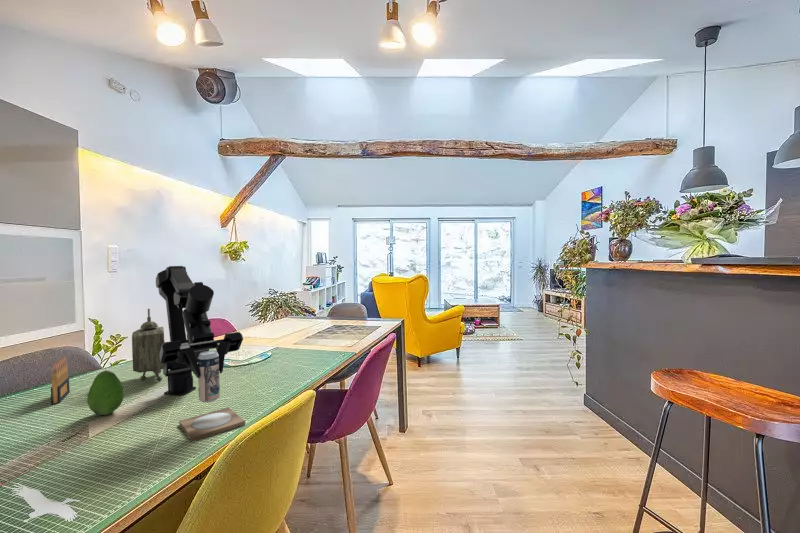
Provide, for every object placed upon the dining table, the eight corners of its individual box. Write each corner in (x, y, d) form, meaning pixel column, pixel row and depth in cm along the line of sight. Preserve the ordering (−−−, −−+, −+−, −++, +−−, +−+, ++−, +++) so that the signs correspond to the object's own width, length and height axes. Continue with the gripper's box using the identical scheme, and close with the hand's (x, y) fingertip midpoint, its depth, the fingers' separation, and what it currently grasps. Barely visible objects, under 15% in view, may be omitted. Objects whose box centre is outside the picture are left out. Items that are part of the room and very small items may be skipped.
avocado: (100, 421, 96) (98, 376, 96) (81, 417, 99) (79, 373, 98) (131, 409, 103) (130, 367, 103) (113, 406, 106) (111, 365, 106)
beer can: (210, 404, 90) (209, 355, 89) (194, 402, 91) (192, 354, 91) (224, 396, 94) (223, 350, 94) (208, 395, 96) (207, 349, 95)
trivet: (179, 424, 93) (179, 420, 93) (228, 410, 102) (228, 406, 102) (192, 441, 85) (192, 436, 85) (245, 424, 93) (244, 420, 93)
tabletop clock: (165, 381, 127) (163, 309, 126) (133, 387, 122) (130, 312, 121) (164, 371, 139) (162, 305, 138) (134, 376, 134) (132, 307, 133)
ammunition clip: (59, 403, 109) (57, 363, 109) (51, 404, 108) (49, 364, 108) (69, 392, 118) (68, 355, 118) (62, 393, 117) (60, 356, 117)
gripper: (227, 336, 110) (241, 382, 102) (153, 348, 97) (162, 401, 90) (235, 313, 104) (251, 360, 96) (158, 322, 91) (168, 377, 84)
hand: (210, 374), depth 92 cm, fingers closed on beer can, 5 cm apart
